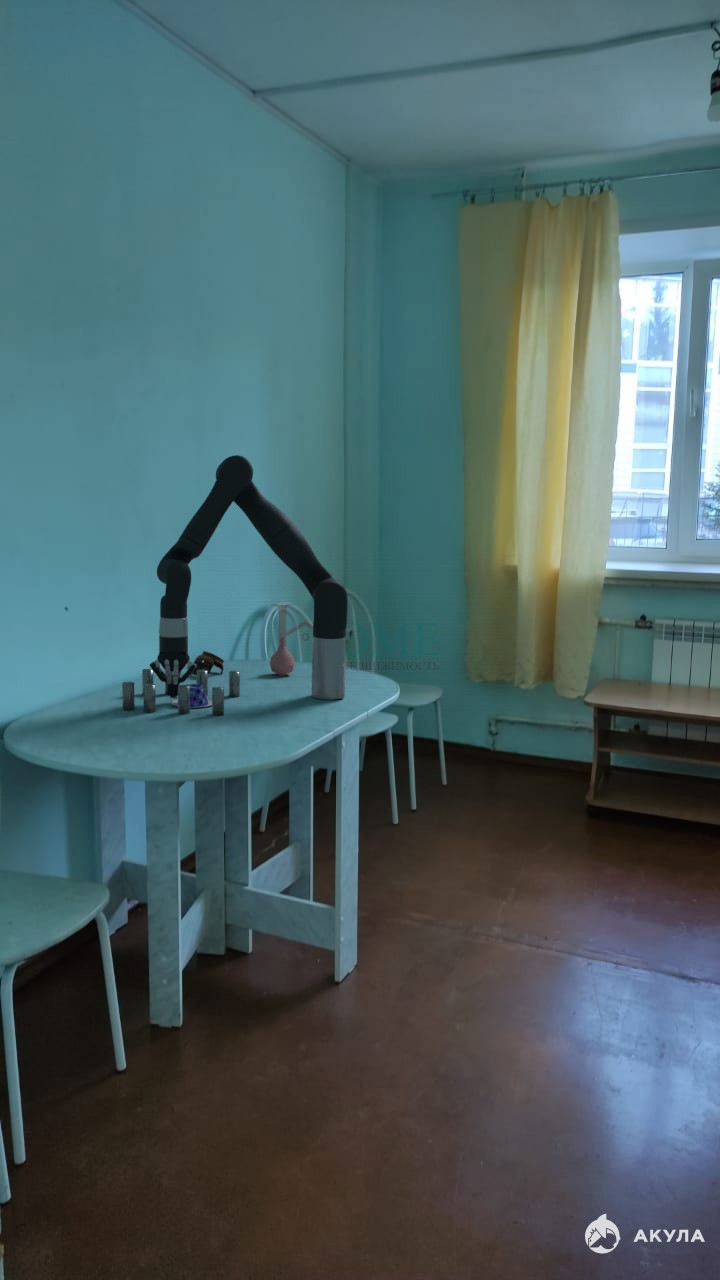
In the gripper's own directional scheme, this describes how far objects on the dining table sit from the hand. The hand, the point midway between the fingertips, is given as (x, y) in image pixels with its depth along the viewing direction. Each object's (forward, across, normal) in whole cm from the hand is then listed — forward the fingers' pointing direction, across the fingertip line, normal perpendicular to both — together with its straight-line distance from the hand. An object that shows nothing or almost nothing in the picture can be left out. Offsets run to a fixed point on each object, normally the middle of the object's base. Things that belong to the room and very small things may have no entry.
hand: (173, 697), depth 250 cm
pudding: (+2, -6, 0) cm, 6 cm away
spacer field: (+1, -2, 0) cm, 3 cm away
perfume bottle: (+1, -23, -43) cm, 49 cm away
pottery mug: (+2, 0, -39) cm, 39 cm away
